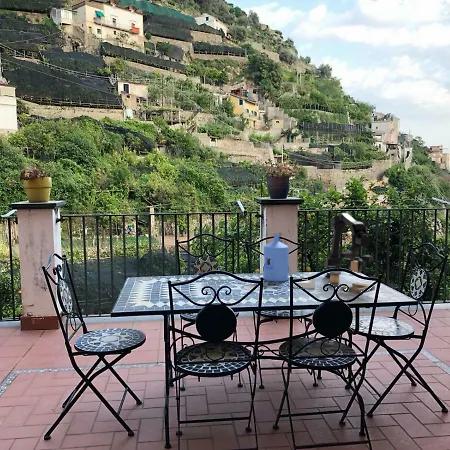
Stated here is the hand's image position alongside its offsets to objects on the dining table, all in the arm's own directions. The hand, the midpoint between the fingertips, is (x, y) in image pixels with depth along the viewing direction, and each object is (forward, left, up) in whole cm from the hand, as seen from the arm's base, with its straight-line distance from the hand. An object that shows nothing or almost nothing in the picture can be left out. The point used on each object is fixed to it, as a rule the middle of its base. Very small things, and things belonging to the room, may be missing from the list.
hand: (355, 271), depth 245 cm
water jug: (-46, -16, -10) cm, 50 cm away
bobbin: (-13, -1, -10) cm, 16 cm away
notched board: (+2, 0, -10) cm, 10 cm away
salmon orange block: (0, 0, -2) cm, 2 cm away
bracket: (-23, -19, -10) cm, 31 cm away
